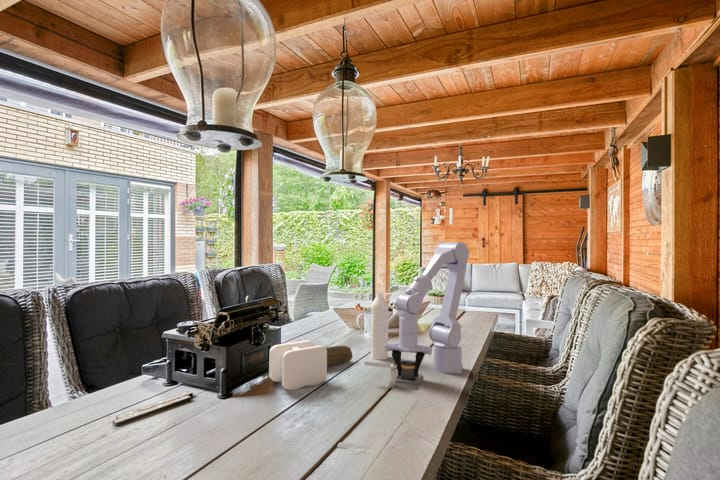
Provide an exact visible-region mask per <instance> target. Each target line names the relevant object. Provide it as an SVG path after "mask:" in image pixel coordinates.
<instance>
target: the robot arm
mask: <svg viewBox="0 0 720 480" xmlns="http://www.w3.org/2000/svg"><path fill="white" fill-rule="evenodd" d="M469 256H470V250H469V248H468V246H467V245H466V243H465V242H463V241H459V242H453V241H451V242H446V241H441V242H438V244H437V245H436V246H435V248H434V249H433V256H432V258H431V259H430V261H429V263H428V264H427V266H426V268H425V269H424V271H423V272H422V274H417V275H416V276H414V278H413V281H412V282H411V284H410V285H409V286H408V288H407V289H406V290H405V292H403V293H401V294H399V295H398V296H397V298H396V301H395V303H394V304H395V307H396V309H397V313H398V315H399V316H398V317H399V321H398V322H399V323H398V324H399V325H398V326H399V329H398V330H399V331H398V332H399V333H398V335H399V336H398V340H399V341H398V343H388V344H386V345H385V351H388V352H391V357H392V359H393V361H394V364H397V369H396V372H397V371H398V375H399V376H400V375H401V366H400V363H401V362H402V353H410V354H411V353H412V354H415V357H414V358H415V363H416V368H415V377H418V373H419V371H420V367H421V364H422V362H423V360H424V357H425V355H428V356H431V355H432V353H433V370H434V371H435V372H438V373H441V374H456V375H462V373H463V372H462V370H463V368H464V366H463V363H462V361H463V360H462V359H463V355H462V354H463V353H462V352H463V351H462V348H463V347H462V346H459V344H460V342H461V340H462V332H461V331H462V325H461V323H460V322H459V321H458V320H457V317H458V316H457V315H458V311H459V306H460V301H461V298H462V297H461V296H462V291H463V288H464V281H465V278H466V273H467V265H468V260H469ZM444 266H445V267H446V268H447V269H448V277H447V281H446V286H445V291H444V295H443V300H442V304H441V309H440V313H439V315H438V316H436V317H435V318H433V322H432V324H431V326H430V328H429V331H428V336H429V337H428V338H429V339H430V340H431V341H432V343H431V344H432V345H433V347H432V346H426V345H421V344H418V336H419V335H418V330H419V328H418V327H419V325H418V324H419V323H418V321H419V320H418V318H419V317H418V316H419V315H418V313H420V310H421V311H422V307H423V302H424V298H425V297H426V295H427V293H428V292H429V291H430V289H431V288H432V286H433V284H432V281H433V279H434V277H436V276H437V274H438V273H439V272H440V271H441V269H442V268H443V267H444Z"/></svg>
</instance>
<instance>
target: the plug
mask: <svg viewBox="0 0 720 480" xmlns="http://www.w3.org/2000/svg"><path fill="white" fill-rule="evenodd" d="M400 366H401V380H410V381H414V380H415V370H416V361H413V360H406V359H405V360H401V363H400Z"/></svg>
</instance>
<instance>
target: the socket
mask: <svg viewBox="0 0 720 480" xmlns="http://www.w3.org/2000/svg"><path fill="white" fill-rule="evenodd" d="M422 377H423V373H419V372H418V377H415V380H414V381H410V380H401V375H400V376H399V375H398V371H397V369H391V368H390V381H389V382H388V383H389V384H388V386H387V388H389V389H399V390H407V391H408V390H409V391H419V390H420V386H421V381H422Z"/></svg>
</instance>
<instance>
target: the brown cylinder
mask: <svg viewBox="0 0 720 480" xmlns="http://www.w3.org/2000/svg"><path fill="white" fill-rule="evenodd" d="M325 348H326V349H327V368H330V367H335V366H340V365H343V364H345V363H348V362H350V361H352V359H353V352H352V349H351V347H349V346H347V345H335V346H328V347H325Z"/></svg>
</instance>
